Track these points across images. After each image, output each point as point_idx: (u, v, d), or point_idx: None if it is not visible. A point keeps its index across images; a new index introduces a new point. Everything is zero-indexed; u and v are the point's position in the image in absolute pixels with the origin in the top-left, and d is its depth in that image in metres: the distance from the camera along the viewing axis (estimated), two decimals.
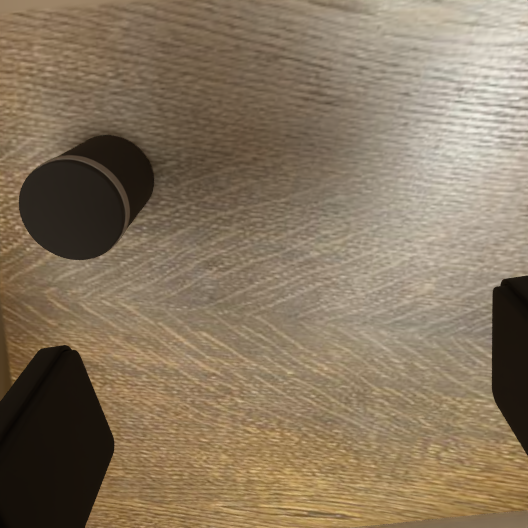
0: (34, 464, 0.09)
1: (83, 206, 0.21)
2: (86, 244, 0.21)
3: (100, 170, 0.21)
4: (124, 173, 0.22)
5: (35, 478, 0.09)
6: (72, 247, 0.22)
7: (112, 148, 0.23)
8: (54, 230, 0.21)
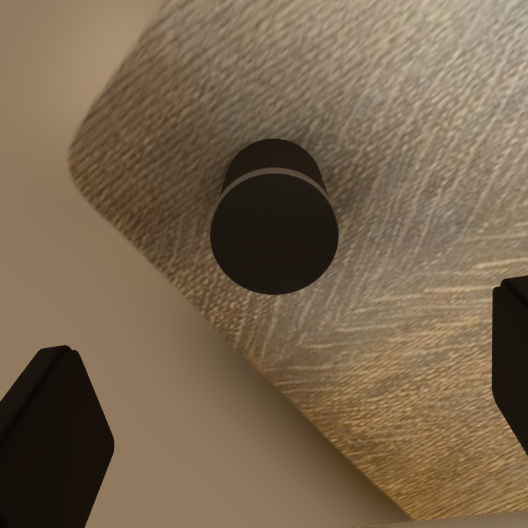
0: (34, 464, 0.09)
1: (280, 222, 0.17)
2: (312, 257, 0.17)
3: (266, 173, 0.16)
4: (286, 162, 0.18)
5: (35, 478, 0.09)
6: (301, 272, 0.17)
7: (255, 154, 0.19)
8: (272, 269, 0.17)
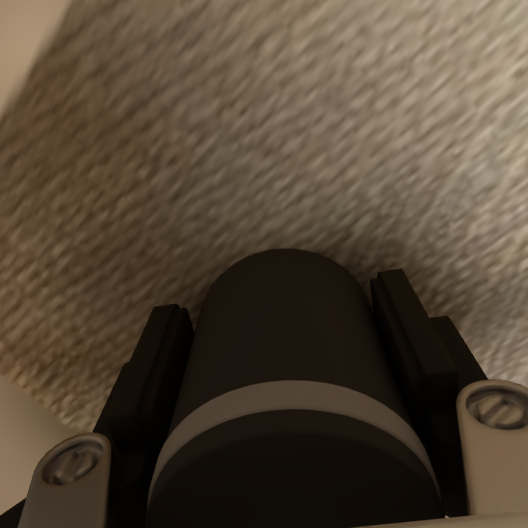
0: (172, 403, 0.10)
1: (309, 516, 0.07)
2: None
3: (277, 405, 0.07)
4: (320, 344, 0.08)
5: None
6: None
7: (253, 300, 0.10)
8: None
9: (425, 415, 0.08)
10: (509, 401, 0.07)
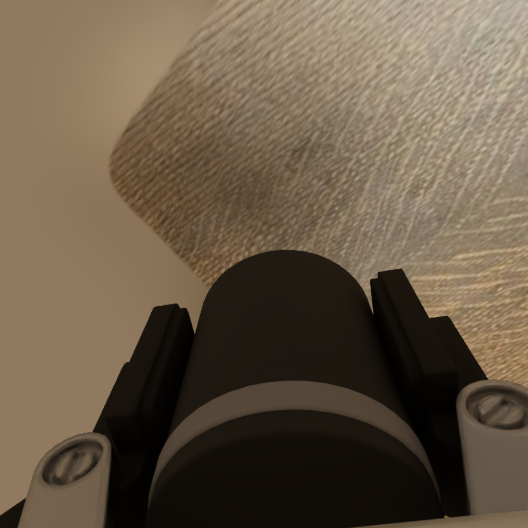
0: (172, 403, 0.10)
1: (309, 516, 0.07)
2: None
3: (277, 405, 0.07)
4: (319, 344, 0.08)
5: None
6: None
7: (253, 301, 0.10)
8: None
9: (425, 415, 0.08)
10: (509, 401, 0.07)
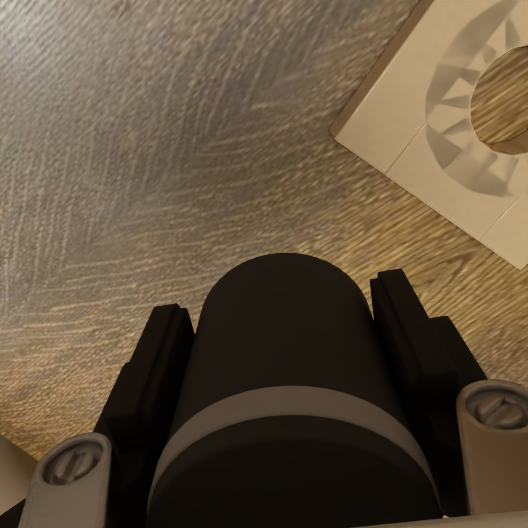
0: (172, 403, 0.10)
1: (309, 521, 0.07)
2: None
3: (277, 411, 0.07)
4: (318, 348, 0.08)
5: None
6: None
7: (252, 305, 0.10)
8: None
9: (425, 415, 0.08)
10: (509, 401, 0.07)
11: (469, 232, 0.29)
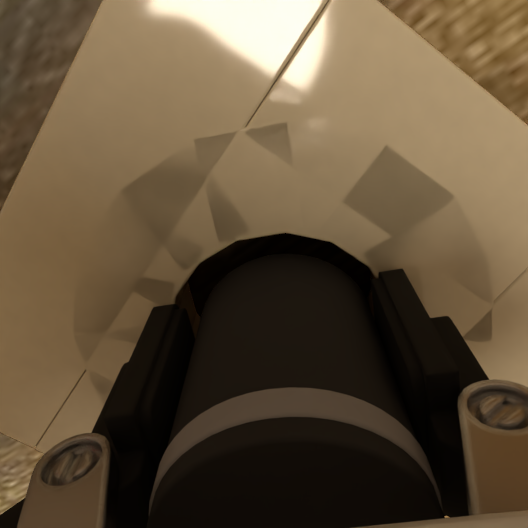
0: (171, 403, 0.10)
1: (310, 523, 0.07)
2: None
3: (278, 412, 0.07)
4: (320, 350, 0.08)
5: (173, 415, 0.09)
6: None
7: (254, 306, 0.10)
8: None
9: (426, 415, 0.08)
10: (511, 401, 0.07)
11: None
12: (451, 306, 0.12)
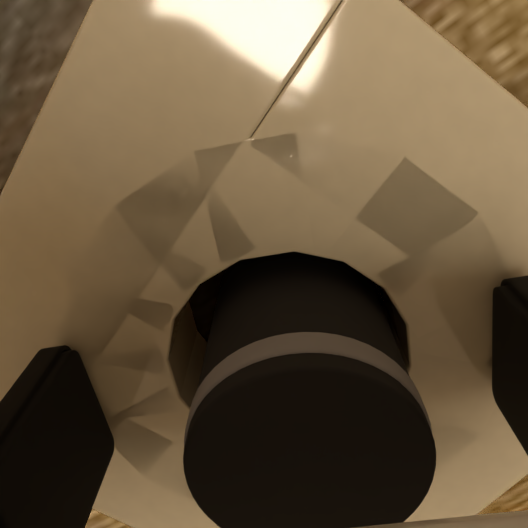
0: (34, 464, 0.09)
1: (322, 444, 0.08)
2: (381, 501, 0.09)
3: (295, 350, 0.08)
4: (329, 306, 0.09)
5: (35, 478, 0.09)
6: (359, 522, 0.09)
7: (269, 273, 0.11)
8: (303, 518, 0.09)
9: None
10: None
11: None
12: (472, 330, 0.11)
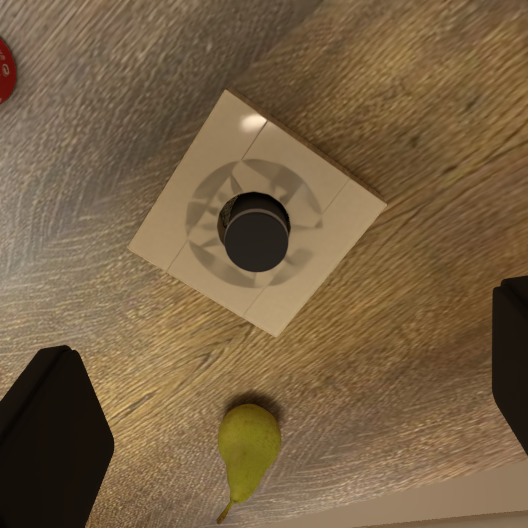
0: (34, 464, 0.09)
1: (259, 235, 0.34)
2: (275, 253, 0.34)
3: (252, 211, 0.33)
4: (263, 205, 0.35)
5: (35, 478, 0.09)
6: (270, 260, 0.34)
7: (247, 199, 0.36)
8: (255, 259, 0.34)
9: None
10: None
11: (233, 311, 0.40)
12: (308, 216, 0.36)
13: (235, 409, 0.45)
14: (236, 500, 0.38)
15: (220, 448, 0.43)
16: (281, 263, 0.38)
